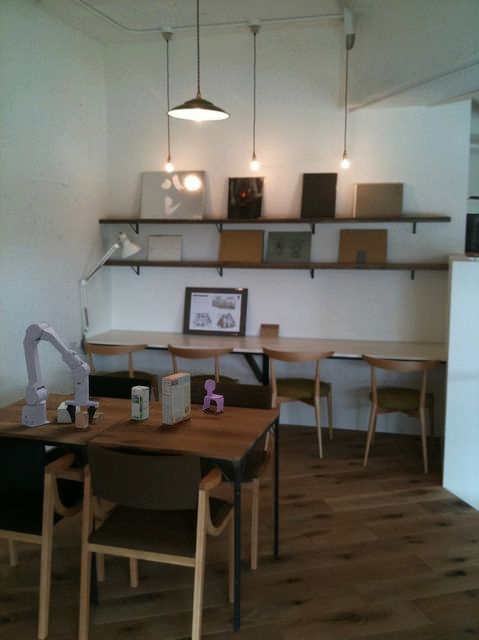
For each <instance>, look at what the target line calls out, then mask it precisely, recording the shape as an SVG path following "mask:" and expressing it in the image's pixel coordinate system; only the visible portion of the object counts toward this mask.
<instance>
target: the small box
mask: <svg viewBox="0 0 479 640" xmlns="http://www.w3.org/2000/svg"><path fill="white" fill-rule="evenodd" d="M66 407H67V406H65V401H62V402H60V405H59V406H58V407H57V412H56V413H57V415H56V416H57V423H58V424H59V423H60V424H62V423H67V424H68V423H69V424H70V423H71V424H73V423H72V421H71V418H70V415H69V413H68V411H67V410H66ZM79 411H80V412H81V406H76V412H75V414H76V413H78V412H79ZM75 418H76V417H75ZM74 423H76V420H75V422H74Z"/></svg>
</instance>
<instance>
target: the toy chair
mask: <svg viewBox="0 0 479 640" xmlns="http://www.w3.org/2000/svg"><path fill="white" fill-rule="evenodd" d="M204 389H205V390H206V393H207V394H206V396H204V399H203V407H202V409H201V411H202V410H204V411H206V410H205V409H207V408H209V407H211V406H210V405H211V401H215V402H216V406H217V407H216V408H217V409H216V412H219V411H221V410H223V411H224V403H225V402H224V401H225V399H224V396H223V395H220V394H215V393H213V391H214V390H216V381H215V380H213V379H207V380H206V381H205V383H204ZM207 410H208V409H207ZM216 412H215V413H216ZM219 413H220V412H219Z"/></svg>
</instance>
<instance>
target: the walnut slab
mask: <svg viewBox="0 0 479 640" xmlns="http://www.w3.org/2000/svg"><path fill="white" fill-rule="evenodd" d="M104 418H105V412H97V411H95V414H94V417H93V421H92V423H91V424H92V425H97V424H99V423H100V422H101V421H102V420H104ZM88 424H89V416H88ZM91 424H90V425H91Z"/></svg>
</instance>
